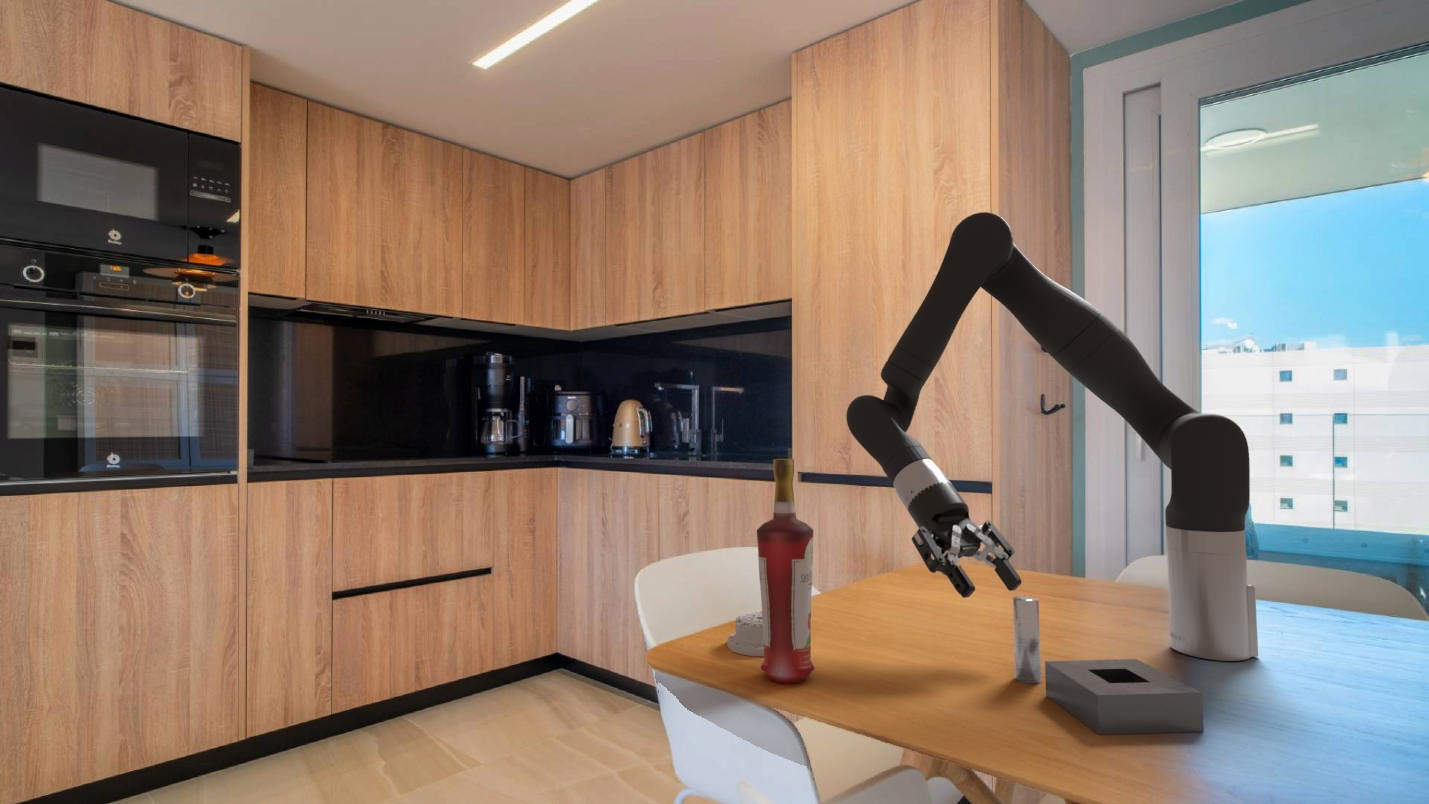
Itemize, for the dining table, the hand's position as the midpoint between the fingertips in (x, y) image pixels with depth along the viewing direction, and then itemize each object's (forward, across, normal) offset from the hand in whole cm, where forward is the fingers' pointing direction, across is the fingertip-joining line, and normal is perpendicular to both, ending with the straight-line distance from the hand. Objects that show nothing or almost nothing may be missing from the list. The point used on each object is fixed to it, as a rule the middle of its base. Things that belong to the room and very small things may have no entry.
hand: (993, 590), depth 95 cm
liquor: (0, -26, +14) cm, 30 cm away
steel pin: (+11, 0, +4) cm, 11 cm away
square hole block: (+19, 0, -5) cm, 20 cm away
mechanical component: (-9, -22, +24) cm, 34 cm away
